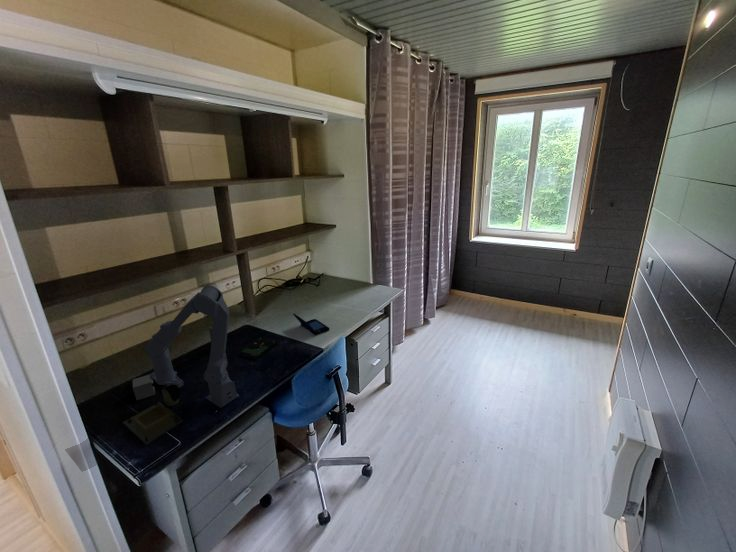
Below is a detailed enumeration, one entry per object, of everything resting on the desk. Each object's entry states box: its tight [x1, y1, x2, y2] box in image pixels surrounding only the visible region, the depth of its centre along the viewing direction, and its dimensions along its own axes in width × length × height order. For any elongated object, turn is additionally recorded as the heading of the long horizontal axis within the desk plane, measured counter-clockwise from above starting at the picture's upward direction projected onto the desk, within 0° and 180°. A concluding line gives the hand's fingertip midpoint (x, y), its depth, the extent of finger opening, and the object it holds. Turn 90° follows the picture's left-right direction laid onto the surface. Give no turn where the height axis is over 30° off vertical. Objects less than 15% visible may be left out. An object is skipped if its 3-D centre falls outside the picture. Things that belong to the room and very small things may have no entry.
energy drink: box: [208, 324, 213, 342], centre depth 158 cm, size 5×5×12 cm
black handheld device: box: [292, 313, 330, 337], centre depth 175 cm, size 16×13×9 cm
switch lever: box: [161, 385, 180, 408], centre depth 123 cm, size 5×5×7 cm
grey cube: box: [132, 373, 156, 401], centre depth 129 cm, size 6×6×6 cm
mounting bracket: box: [122, 401, 184, 446], centre depth 114 cm, size 16×12×4 cm
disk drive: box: [240, 336, 279, 361], centre depth 158 cm, size 10×3×15 cm
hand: (171, 398), depth 124 cm, fingers closed on switch lever, 5 cm apart
